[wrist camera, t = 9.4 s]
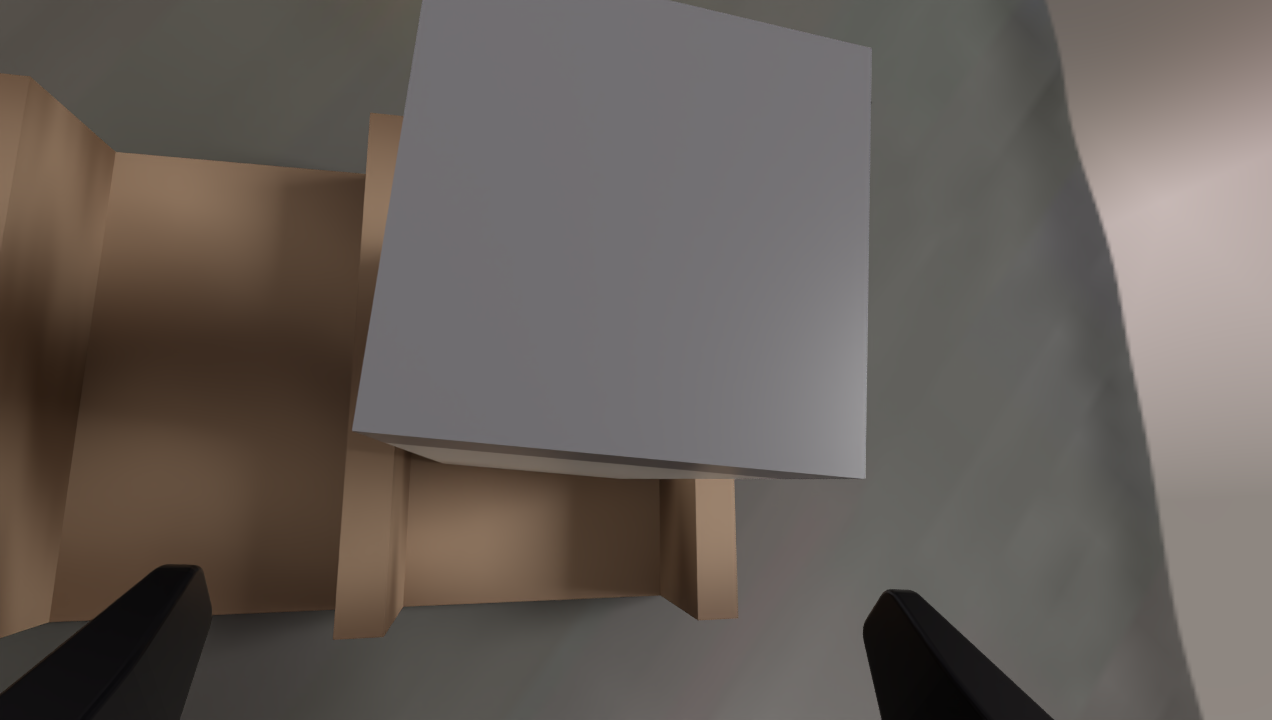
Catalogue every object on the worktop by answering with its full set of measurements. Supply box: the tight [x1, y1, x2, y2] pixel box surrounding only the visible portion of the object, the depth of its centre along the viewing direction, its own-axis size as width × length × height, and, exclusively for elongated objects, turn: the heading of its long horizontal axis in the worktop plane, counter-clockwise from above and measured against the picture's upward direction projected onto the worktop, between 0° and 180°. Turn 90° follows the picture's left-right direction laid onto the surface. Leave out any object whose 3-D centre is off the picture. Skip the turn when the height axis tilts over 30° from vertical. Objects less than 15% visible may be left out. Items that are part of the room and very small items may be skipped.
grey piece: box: [352, 0, 872, 479], centre depth 13 cm, size 5×5×13 cm
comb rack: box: [0, 73, 738, 640], centre depth 16 cm, size 12×25×4 cm, turn 90°
